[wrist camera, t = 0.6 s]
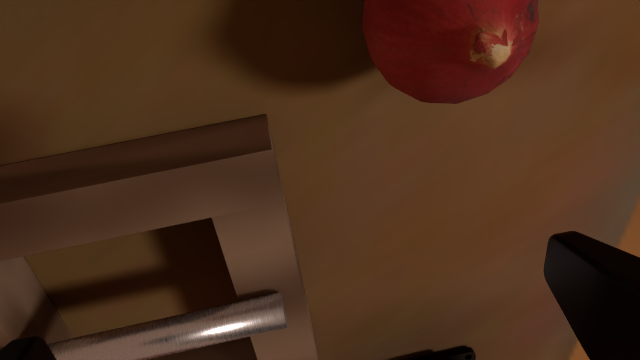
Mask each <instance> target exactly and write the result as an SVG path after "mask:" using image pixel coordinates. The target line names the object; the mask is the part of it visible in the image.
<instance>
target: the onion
mask: <svg viewBox="0 0 640 360" xmlns="http://www.w3.org/2000/svg"><path fill="white" fill-rule="evenodd" d="M538 24H539V14H538V0H365V1H364V11H363V20H362V28H363V32H364V36H365V40H366V43H367V47H368V51H369V54H370V57H371V59H372V62H373V63H374V64H375V66H376V67H377V68H378V70H379V71H380V72H381V74H382V75H383V76H384V78H385V79H386V80H387V82H388V83H389V84H390V85H392V86H393V87H395V88H396V89H398V90H400V91H402V92H403V93H405V94H407V95H409V96H411V97H413V98H415V99H417V100H419V101H422V102H428V103H451V104H457V103H461V102H464V101H467V100H470V99H473V98H476V97H479V96H482V95H485V94H488V93H489V92H491V91H492V90H493V89H495V88H496V87H498V86H499V85H500V84H502V83H503V82H505V81H506V80H507V79H509V78H510V77H511V76H512V75H513V73H514V72H515V71H516V70H517V68H518V67H519V66H520V64H521V63H522V62H523V60H524V59H525V58H526V57H527V55H528V54H529V52H530V48H531V45H532V42H533V39H534V36H535V33H536V30H537V27H538Z"/></svg>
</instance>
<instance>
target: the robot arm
mask: <svg viewBox="0 0 640 360" xmlns="http://www.w3.org/2000/svg"><path fill="white" fill-rule="evenodd" d="M544 276H545V279H546V282H547V284H548V286H549V287H550V289H551V291H552V293H553V295H554V297H555V298H556V300H557V302H558V304H559V306H560V307H561V309H562V311H563V313H564V315H565V317H566V318H567V320H568V322H569V324H570V326H571V328H572V329H573V331H574V333H575V335H576V337H577V338H578V340H579V342H580V344H581V346H582V347H583V349H584V351H585V352H586V354H587V356H588V357H589V359H590V360H640V258H639V257H637V256H634V255H632V254H630V253H627V252H625V251H622V250H620V249H618V248H615V247H613V246H610V245H608V244H605V243H603V242H600V241H598V240H596V239H593V238H591V237H588V236H586V235H583V234H581V233H578V232H576V231H568V232H563V233H558V234H554V235H552V236H551V237H550V238H549V241H548V246H547V252H546V258H545V264H544ZM475 358H476V355H475V353H474V351H473V349H472V348H470V347H466V348H462V349H457V350H453V351H449V352H445V353H440V354H436V355H432V356H427V357H423V358H419V359H415V360H475ZM0 360H57V359H56V358H55V356H54V354H53V353H52V351H51V349H50V348H49V346H48V344H47V343H46V341H45V340H44V338H43V337H41V336H39V335H33V336H28V337H23V338H18V339H15V340H12V341H11V342H9V343H8V344H7V345H6V346H5V347H4V348H2V349H1V350H0Z"/></svg>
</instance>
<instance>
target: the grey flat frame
mask: <svg viewBox="0 0 640 360" xmlns="http://www.w3.org/2000/svg"><path fill="white" fill-rule="evenodd" d="M211 217H212V220H213V223H214V227H215V230H216V233H217V236H218V239H219V242H220V245H221V248H222V251H223V254H224V257H225V261H226V264H227V267H228V270H229V273H230V276H231V279H232V282H233V285H234V288H235V291H236V294H237V298H238V301H244V300H248V299H253V298H257V297H262V296H266V295H271V294H275V293H280V292H281V294H282V297H283V301H284V306H285V311H286V317H287V324H288V328H285V329H281V330H276V331H272V332H267V333H263V334H258V335H254V336H250V337H245V338H241V339H236V340H232V341H227V342H223V343H218V344H214V345H210V346H205V347H201V348H196V349H192V350H187V351H183V352H179V353H174V354H170V355H165V356H161V357H156V358H152V359H147V360H319V356H318V351H317V346H316V341H315V336H314V331H313V327H312V322H311V318H310V313H309V308H308V304H307V299H306V295H305V290H304V285H303V281H302V276H301V272H300V267H299V262H298V258H297V253H296V249H295V244H294V240H293V235H292V230H291V226H290V221H289V217H288V212H287V207H286V203H285V198H284V194H283V189H282V184H281V180H280V175H279V171H278V166H277V161H276V157H275V152H274V148H273V143H272V138H271V134H270V129H269V125H268V120H267V115H266V114H265V115H260V116H254V117H249V118H244V119H239V120H234V121H229V122H224V123H219V124H213V125H208V126H203V127H198V128H193V129H188V130H183V131H178V132H172V133H167V134H162V135H157V136H152V137H147V138H142V139H137V140H132V141H126V142H121V143H116V144H111V145H106V146H101V147H96V148H91V149H85V150H80V151H75V152H70V153H65V154H60V155H55V156H50V157H45V158H39V159H34V160H29V161H24V162H19V163H14V164H9V165H4V166H0V350H1V349H2V348H4V347H5V346H6V345H7V344H8V343H9V342H11V341H12V340H15V339H18V338H23V337H28V336H33V335H39V336H41V337H43V338H44V340H45V341H46V343H47V344H48V343H53V342H57V341H62V340H66V339H71V338H73V336H72V335H71V333H70V331H69V330H68V328H67V327H66V325H65V323H64V322H63V320H62V318H61V317H60V315H59V314H58V312H57V310H56V309H55V307H54V305H53V304H52V302H51V301H50V299H49V297H48V296H47V294H46V292H45V291H44V289H43V288H42V286H41V284H40V283H39V281H38V279H37V278H36V276H35V275H34V273H33V271H32V270H31V268H30V266H29V265H28V263H27V262H26V260H25V258H24V256H28V255H33V254H38V253H43V252H48V251H52V250H57V249H62V248H67V247H72V246H76V245H81V244H86V243H91V242H96V241H101V240H105V239H110V238H115V237H120V236H125V235H129V234H134V233H139V232H144V231H149V230H153V229H158V228H163V227H168V226H173V225H177V224H182V223H187V222H192V221H197V220H202V219H206V218H211Z"/></svg>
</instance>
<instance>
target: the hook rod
mask: <svg viewBox="0 0 640 360" xmlns="http://www.w3.org/2000/svg"><path fill="white" fill-rule="evenodd" d="M285 328H288V324H287V317H286V311H285V306H284V301H283V297H282V294H281V292H280V293H275V294H271V295H266V296H262V297H257V298H253V299H248V300H244V301H239V302H234V303H230V304H225V305H221V306H216V307H212V308H207V309H203V310H198V311H194V312H189V313H184V314H180V315H175V316H171V317H166V318H162V319H157V320H153V321H148V322H144V323H139V324H134V325H130V326H125V327H121V328H116V329H112V330H107V331H103V332H98V333H94V334H89V335H85V336H80V337H75V338H71V339H66V340H62V341H57V342H53V343H48V346H49V348H50V349H51V351H52V353H53V354H54V356H55V358H56V359H57V360H147V359H152V358H156V357H161V356H165V355H170V354H174V353H179V352H183V351H187V350H192V349H196V348H201V347H205V346H210V345H214V344H218V343H223V342H227V341H232V340H236V339H241V338H245V337H250V336H254V335H258V334H263V333H267V332H272V331H276V330H281V329H285Z"/></svg>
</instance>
